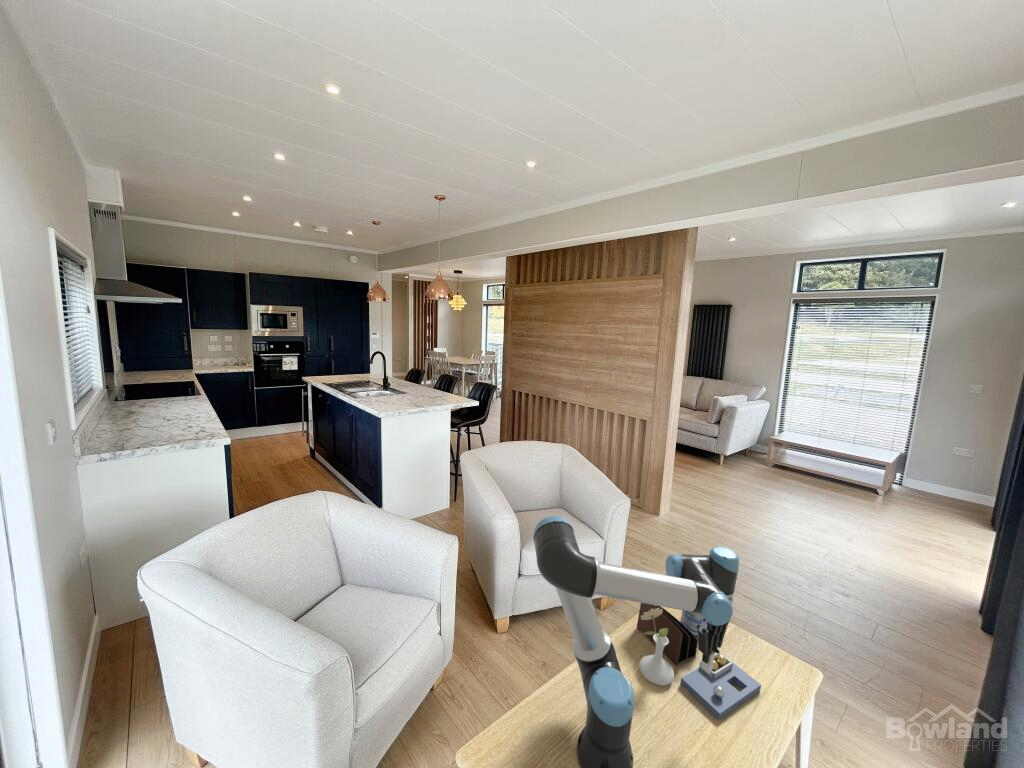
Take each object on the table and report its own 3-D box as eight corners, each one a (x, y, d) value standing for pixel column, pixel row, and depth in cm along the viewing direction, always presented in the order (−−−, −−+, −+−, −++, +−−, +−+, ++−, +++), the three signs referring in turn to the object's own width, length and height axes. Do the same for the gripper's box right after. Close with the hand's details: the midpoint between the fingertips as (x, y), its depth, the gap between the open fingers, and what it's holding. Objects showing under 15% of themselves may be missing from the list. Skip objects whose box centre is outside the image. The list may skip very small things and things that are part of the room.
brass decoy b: (721, 670, 143) (723, 661, 142) (712, 662, 146) (713, 654, 146) (728, 666, 145) (729, 657, 144) (718, 659, 148) (720, 650, 147)
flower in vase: (668, 662, 148) (677, 599, 144) (677, 691, 137) (688, 624, 133) (631, 657, 150) (638, 595, 145) (637, 685, 138) (645, 619, 134)
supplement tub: (680, 632, 163) (685, 598, 160) (679, 615, 172) (684, 583, 169) (707, 640, 160) (713, 605, 157) (705, 623, 169) (710, 590, 166)
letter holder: (676, 667, 147) (681, 632, 144) (636, 628, 164) (640, 596, 161) (696, 658, 151) (701, 623, 149) (654, 620, 169) (659, 589, 166)
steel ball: (719, 702, 131) (721, 693, 131) (710, 694, 134) (711, 685, 133) (725, 698, 133) (727, 689, 132) (716, 690, 136) (718, 681, 135)
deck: (718, 720, 128) (720, 708, 127) (680, 684, 140) (682, 672, 139) (759, 691, 139) (762, 679, 138) (721, 659, 151) (723, 649, 150)
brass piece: (713, 676, 141) (714, 666, 140) (703, 668, 144) (705, 658, 143) (719, 672, 143) (721, 662, 142) (710, 664, 146) (711, 655, 145)
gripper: (715, 615, 116) (703, 688, 120) (743, 601, 122) (731, 670, 127) (691, 598, 122) (681, 668, 126) (719, 586, 129) (709, 652, 133)
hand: (706, 669), depth 127 cm, fingers closed
